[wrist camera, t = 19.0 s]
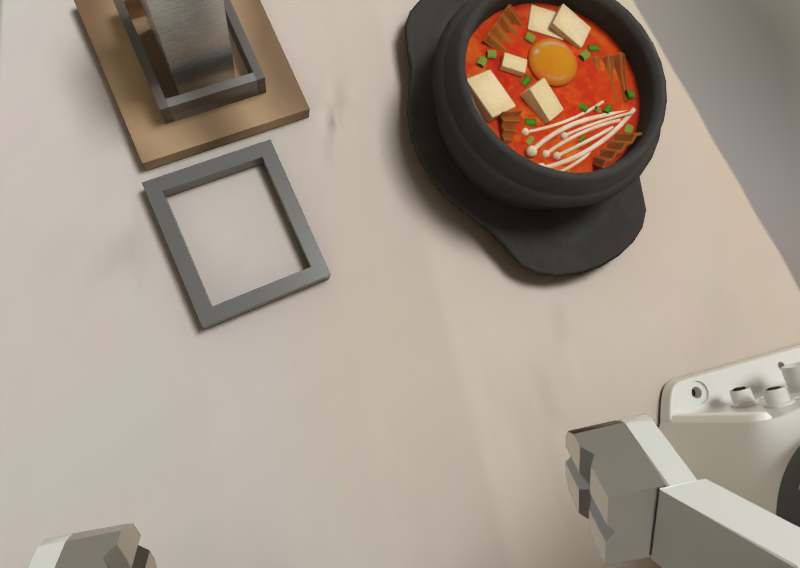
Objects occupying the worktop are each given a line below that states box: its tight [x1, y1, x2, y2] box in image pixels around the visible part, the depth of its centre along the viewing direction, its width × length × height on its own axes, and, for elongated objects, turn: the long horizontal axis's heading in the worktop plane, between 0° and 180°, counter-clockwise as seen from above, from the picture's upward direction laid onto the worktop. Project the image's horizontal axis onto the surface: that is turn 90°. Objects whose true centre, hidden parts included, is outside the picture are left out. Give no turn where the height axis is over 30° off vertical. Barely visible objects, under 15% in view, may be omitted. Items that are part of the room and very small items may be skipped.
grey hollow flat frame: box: [142, 140, 331, 329], centre depth 40 cm, size 9×10×1 cm
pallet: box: [74, 0, 310, 170], centre depth 40 cm, size 12×13×3 cm
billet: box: [140, 0, 236, 95], centre depth 36 cm, size 4×6×10 cm
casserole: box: [404, 0, 667, 277], centre depth 42 cm, size 25×19×8 cm
